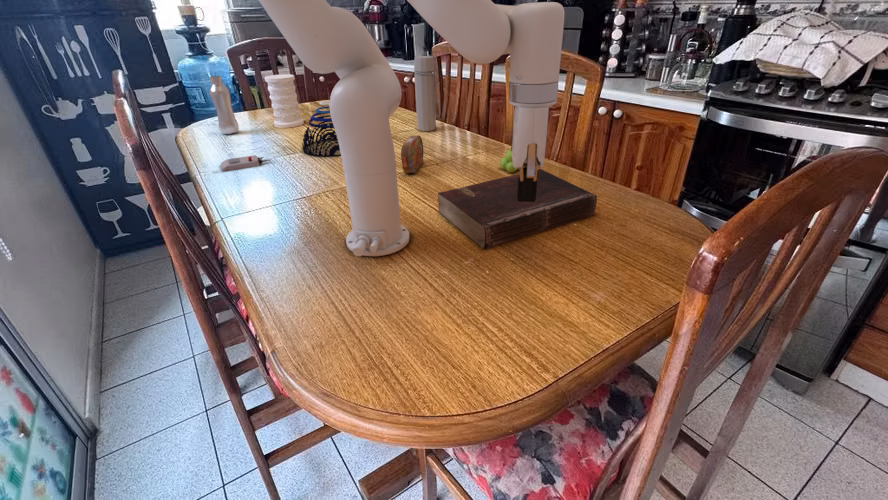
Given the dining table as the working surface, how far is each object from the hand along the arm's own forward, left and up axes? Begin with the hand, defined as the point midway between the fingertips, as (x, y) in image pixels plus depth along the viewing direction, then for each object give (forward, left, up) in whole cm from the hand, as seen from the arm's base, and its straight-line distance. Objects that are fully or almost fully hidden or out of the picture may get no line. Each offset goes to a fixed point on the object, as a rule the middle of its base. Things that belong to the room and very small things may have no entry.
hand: (526, 199), depth 75 cm
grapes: (+45, +1, -10) cm, 46 cm away
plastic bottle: (+79, +105, -10) cm, 131 cm away
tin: (+44, +29, -10) cm, 53 cm away
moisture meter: (+45, +81, -11) cm, 93 cm away
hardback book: (+15, +1, -10) cm, 18 cm away
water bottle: (+86, +30, -10) cm, 92 cm away
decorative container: (+93, +88, -10) cm, 128 cm away
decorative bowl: (+63, +59, -10) cm, 87 cm away
